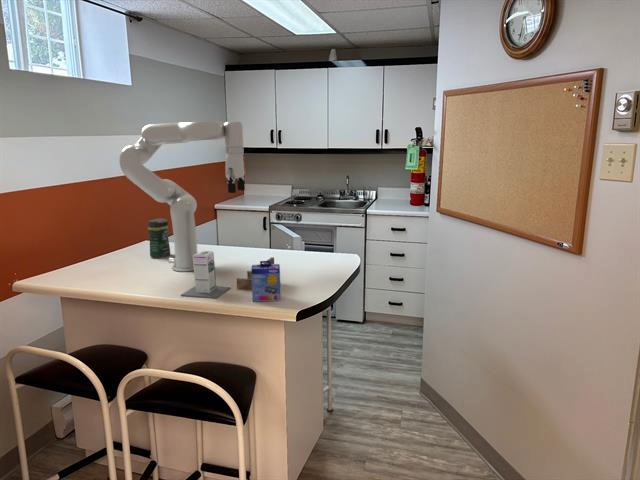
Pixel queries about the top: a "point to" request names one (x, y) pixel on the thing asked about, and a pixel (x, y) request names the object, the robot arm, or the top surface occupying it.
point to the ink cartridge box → (266, 282)
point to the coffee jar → (158, 238)
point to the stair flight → (249, 279)
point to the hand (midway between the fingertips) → (236, 191)
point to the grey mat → (213, 294)
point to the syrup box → (204, 272)
